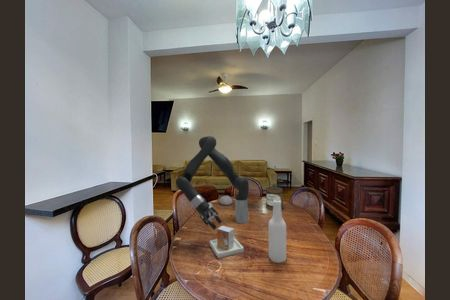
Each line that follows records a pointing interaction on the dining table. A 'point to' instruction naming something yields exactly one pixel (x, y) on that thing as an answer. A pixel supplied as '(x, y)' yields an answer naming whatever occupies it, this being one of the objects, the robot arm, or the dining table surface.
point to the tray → (224, 253)
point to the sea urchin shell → (225, 200)
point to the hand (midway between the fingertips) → (218, 225)
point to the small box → (225, 237)
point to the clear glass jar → (273, 196)
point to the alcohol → (277, 234)
